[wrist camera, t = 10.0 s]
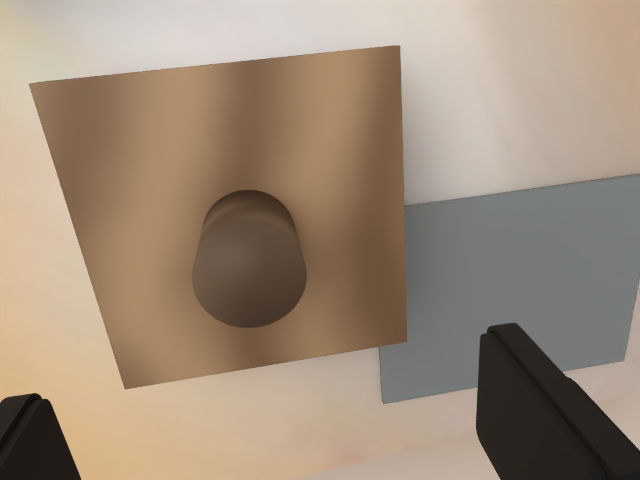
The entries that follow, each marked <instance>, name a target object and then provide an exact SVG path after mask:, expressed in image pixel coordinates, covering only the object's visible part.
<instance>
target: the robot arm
mask: <svg viewBox="0 0 640 480" xmlns="http://www.w3.org/2000/svg"><path fill="white" fill-rule="evenodd" d="M476 430H477V435H478V438H479V441H480V443H481V445H482V447H483V448H484V450H485V452H486V454H487V456H488V457H489V459H490V461H491V463H492V465H493V467H494V468H495V470H496V472H497V474H498V476H499V477H500V479H501V480H640V451H639V449H638V448H637V447H636V446H635V445H634V444H633V443H632V442H631V441H630V440H629V439H628V438H627V437H626V436H625V434H624V433H622V431H621V430H620V429H619V428H618V427H617V426H616V425H615V424H614V423H613V422H612V421H611V420H610V418H609V417H608V416H607V415H606V414H605V413H604V412H603V411H602V410H601V409H600V408H599V407H598V406H597V404H596V403H595V402H594V401H593V400H592V399H591V398H590V397H589V396H588V395H587V394H586V393H585V392H584V391H583V389H582V388H581V387H580V386H579V385H578V384H577V383H576V382H575V381H573V380H572V379H571V378H568V377H566V376H565V375H564V374H563V372H562V371H561V370H560V369H559V368H558V367H557V366H556V365H555V364H554V363H553V362H552V361H551V359H550V358H549V357H548V356H547V355H546V354H545V353H544V352H543V351H542V350H541V349H540V348H539V346H538V345H537V344H536V343H535V342H534V341H533V340H532V339H531V338H530V337H529V336H528V334H527V333H526V332H525V331H524V330H523V329H522V328H521V327H520V326H519V325H518V324H517V323H507V324H500V325H493V326H490V327H488V329H487V333H484V334H482V335H481V336H480V348H479V370H478V392H477V414H476ZM0 480H81V477H80V475H79V472H78V470H77V467H76V465H75V462H74V460H73V457H72V455H71V452H70V450H69V447H68V445H67V442H66V440H65V437H64V435H63V432H62V430H61V427H60V425H59V422H58V420H57V417H56V415H55V412H54V410H53V407H52V405H51V403H50V401H49V400H48V399H42V397H41V396H40V395H39V394H36V393H33V394H26V395H19V396H12V397H7V398H5V399H3V400H2V401H1V403H0Z"/></svg>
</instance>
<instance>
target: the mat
mask: <svg viewBox="0 0 640 480" xmlns="http://www.w3.org/2000/svg"><path fill="white" fill-rule="evenodd" d="M404 223H405V263H406V303H407V342H404V343H398V344H392V345H386V346H380V347H379V355H380V374H381V392H382V402H383V404H387V403H392V402H398V401H403V400H409V399H414V398H420V397H425V396H431V395H436V394H442V393H447V392H453V391H458V390H464V389H469V388H475V387H478V370H479V348H480V336H481V335H482V334H484V333H487V329H488V327H490V326H493V325H500V324H507V323H517V324H518V325H519V326H520V327H521V328H522V329H523V330H524V331H525V332H526V333H527V334H528V336H529V337H530V338H531V339H532V340H533V341H534V342H535V343H536V344H537V345H538V346H539V348H540V349H541V350H542V351H543V352H544V353H545V354H546V355H547V356H548V357H549V358H550V359H551V361H552V362H553V363H554V364H555V365H556V366H557V367H558V368H559V369H560V370H561V371H562V372H563V371H569V370H574V369H580V368H585V367H591V366H596V365H602V364H607V363H613V362H618V361H624V358H625V353H626V348H627V342H628V337H629V332H630V326H631V321H632V316H633V310H634V305H635V300H636V294H637V289H638V284H639V278H640V174H634V175H627V176H619V177H612V178H605V179H598V180H591V181H583V182H576V183H569V184H562V185H555V186H548V187H540V188H533V189H526V190H519V191H512V192H505V193H497V194H490V195H483V196H476V197H469V198H461V199H454V200H447V201H440V202H433V203H426V204H418V205H411V206H404Z"/></svg>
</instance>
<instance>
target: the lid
mask: <svg viewBox="0 0 640 480" xmlns="http://www.w3.org/2000/svg"><path fill="white" fill-rule="evenodd" d="M29 86H30V89H31V93H32V96H33V99H34V102H35V105H36V108H37V112H38V115H39V118H40V121H41V124H42V127H43V131H44V134H45V137H46V140H47V143H48V147H49V150H50V153H51V156H52V159H53V162H54V166H55V169H56V172H57V175H58V178H59V181H60V185H61V188H62V191H63V194H64V197H65V201H66V204H67V207H68V210H69V213H70V216H71V220H72V223H73V226H74V229H75V232H76V235H77V239H78V242H79V245H80V248H81V251H82V255H83V258H84V261H85V264H86V267H87V270H88V274H89V277H90V280H91V283H92V286H93V290H94V293H95V296H96V299H97V302H98V305H99V309H100V312H101V315H102V318H103V321H104V324H105V328H106V331H107V334H108V337H109V340H110V344H111V347H112V350H113V353H114V356H115V359H116V363H117V366H118V369H119V372H120V375H121V378H122V382H123V385H124V388H125V389H130V388H136V387H142V386H148V385H154V384H160V383H166V382H172V381H178V380H183V379H189V378H195V377H201V376H207V375H213V374H219V373H225V372H231V371H237V370H243V369H249V368H255V367H261V366H267V365H273V364H279V363H285V362H291V361H297V360H303V359H309V358H314V357H320V356H326V355H332V354H338V353H344V352H350V351H356V350H362V349H368V348H374V347H380V346H386V345H392V344H398V343H404V342H407V303H406V263H405V223H404V183H403V143H402V103H401V63H400V46H385V47H375V48H365V49H356V50H346V51H336V52H327V53H317V54H307V55H297V56H288V57H278V58H268V59H259V60H249V61H239V62H230V63H220V64H210V65H200V66H191V67H181V68H171V69H162V70H152V71H142V72H132V73H123V74H113V75H103V76H94V77H84V78H74V79H64V80H55V81H45V82H37V83H31V84H29Z"/></svg>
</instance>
